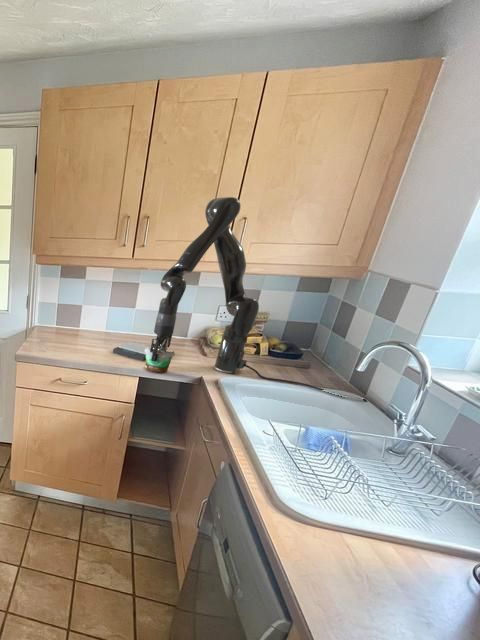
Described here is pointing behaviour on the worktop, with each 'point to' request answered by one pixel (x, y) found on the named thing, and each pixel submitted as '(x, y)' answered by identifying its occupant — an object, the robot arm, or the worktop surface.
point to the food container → (158, 361)
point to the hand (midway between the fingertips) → (157, 359)
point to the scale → (132, 351)
